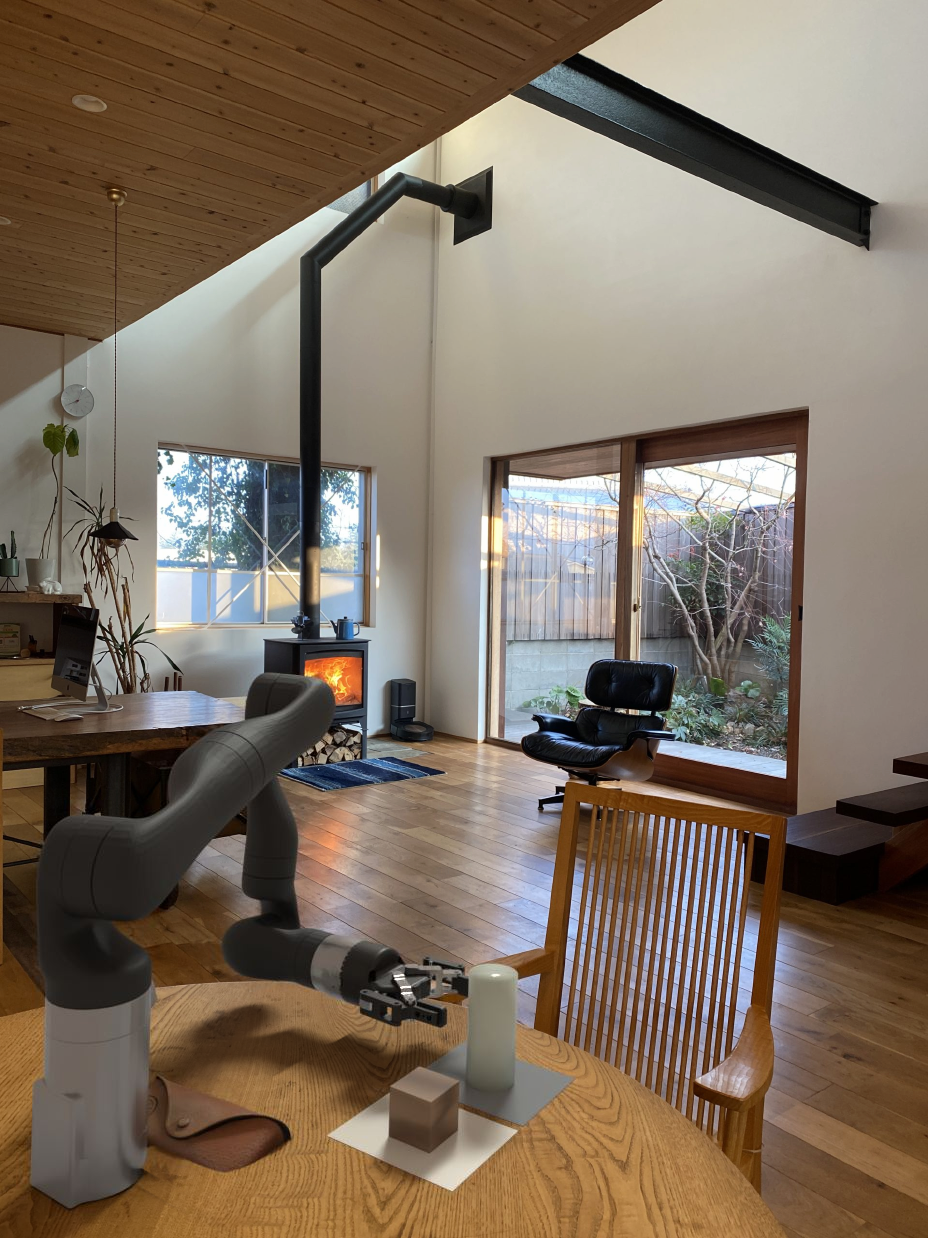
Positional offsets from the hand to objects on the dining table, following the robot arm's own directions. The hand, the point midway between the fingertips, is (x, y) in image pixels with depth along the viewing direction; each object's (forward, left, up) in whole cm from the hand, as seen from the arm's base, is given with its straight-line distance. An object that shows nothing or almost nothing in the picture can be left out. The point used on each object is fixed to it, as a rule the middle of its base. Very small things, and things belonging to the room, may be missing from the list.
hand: (465, 1004), depth 106 cm
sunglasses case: (-27, +14, -9) cm, 32 cm away
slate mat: (-1, -4, -8) cm, 9 cm away
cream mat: (-14, -4, -8) cm, 16 cm away
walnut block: (-14, -4, -7) cm, 16 cm away
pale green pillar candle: (-1, -4, -7) cm, 8 cm away
